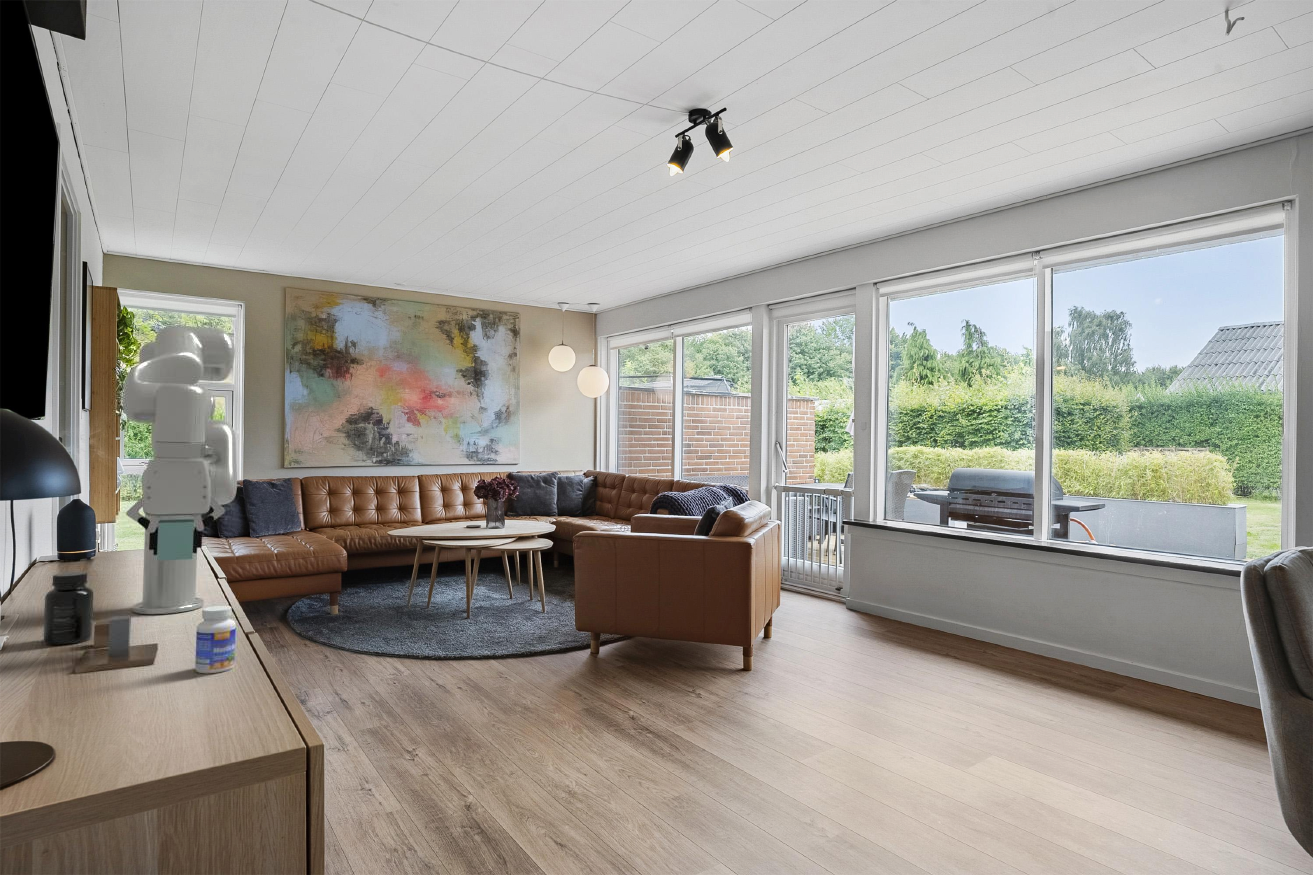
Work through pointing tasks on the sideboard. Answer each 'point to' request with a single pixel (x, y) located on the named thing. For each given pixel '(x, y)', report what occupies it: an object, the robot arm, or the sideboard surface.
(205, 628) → the pill bottle
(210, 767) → the sideboard surface
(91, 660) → the brown square base
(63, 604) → the supplement bottle
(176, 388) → the robot arm
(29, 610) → the sideboard surface
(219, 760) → the sideboard surface
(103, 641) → the tan cardboard cube
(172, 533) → the teal rectangular block
